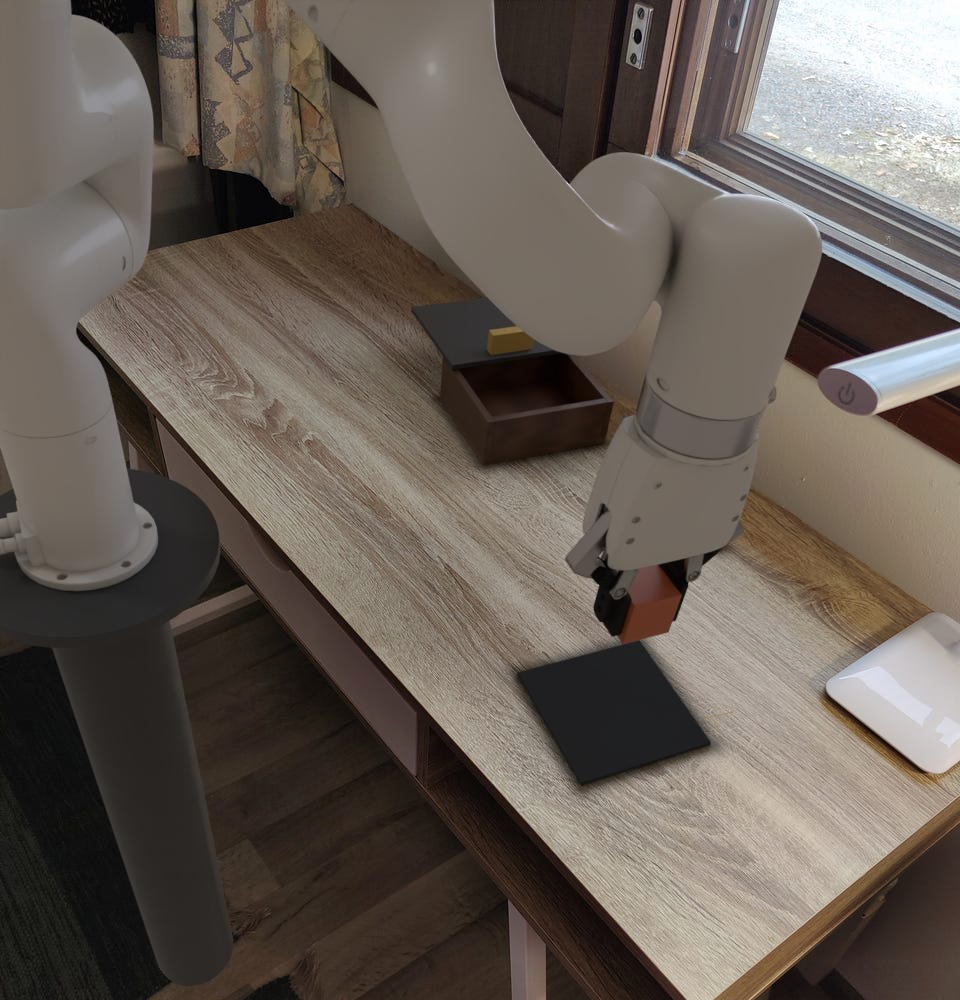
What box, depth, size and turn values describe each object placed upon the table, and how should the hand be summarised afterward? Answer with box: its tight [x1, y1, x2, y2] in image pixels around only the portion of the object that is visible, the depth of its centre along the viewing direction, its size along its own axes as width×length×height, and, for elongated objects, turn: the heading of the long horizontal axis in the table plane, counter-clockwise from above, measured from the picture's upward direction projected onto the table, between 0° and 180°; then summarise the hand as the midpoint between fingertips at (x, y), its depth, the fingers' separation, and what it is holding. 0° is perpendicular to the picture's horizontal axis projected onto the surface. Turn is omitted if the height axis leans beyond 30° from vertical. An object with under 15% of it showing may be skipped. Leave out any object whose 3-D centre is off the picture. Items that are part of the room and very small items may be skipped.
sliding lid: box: [410, 296, 562, 370], centre depth 111 cm, size 15×13×3 cm
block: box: [616, 564, 682, 645], centre depth 73 cm, size 4×4×4 cm
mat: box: [516, 640, 712, 786], centre depth 82 cm, size 12×12×1 cm
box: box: [439, 353, 615, 466], centre depth 108 cm, size 15×13×5 cm
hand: (634, 614), depth 74 cm, fingers closed on block, 4 cm apart
